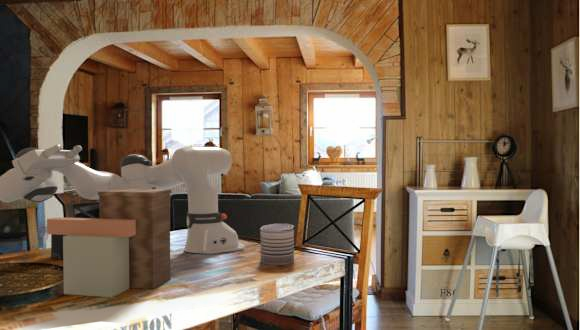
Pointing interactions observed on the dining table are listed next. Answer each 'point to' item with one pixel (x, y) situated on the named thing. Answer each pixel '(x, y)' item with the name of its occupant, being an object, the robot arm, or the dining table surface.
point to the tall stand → (143, 231)
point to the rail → (91, 227)
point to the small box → (57, 246)
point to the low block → (95, 265)
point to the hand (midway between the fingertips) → (70, 146)
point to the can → (277, 244)
